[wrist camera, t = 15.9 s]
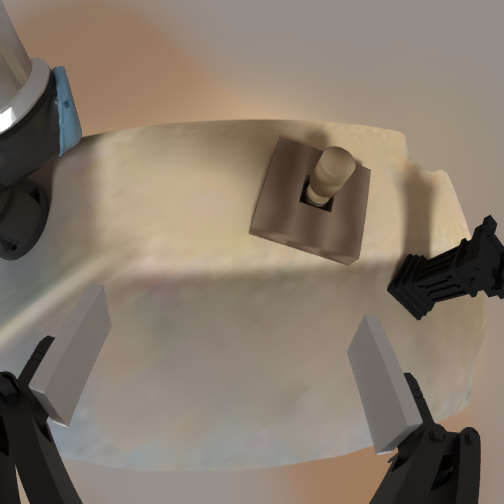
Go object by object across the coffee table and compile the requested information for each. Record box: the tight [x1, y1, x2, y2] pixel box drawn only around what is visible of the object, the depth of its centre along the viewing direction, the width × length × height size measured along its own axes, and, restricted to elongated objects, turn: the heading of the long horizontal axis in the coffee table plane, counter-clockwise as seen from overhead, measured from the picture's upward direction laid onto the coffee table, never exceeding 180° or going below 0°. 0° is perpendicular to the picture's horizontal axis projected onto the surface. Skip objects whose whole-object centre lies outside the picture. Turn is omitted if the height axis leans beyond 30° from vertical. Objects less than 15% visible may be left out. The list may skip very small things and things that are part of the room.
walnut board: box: [249, 137, 371, 265], centre depth 45 cm, size 16×16×4 cm
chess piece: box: [387, 215, 504, 320], centre depth 35 cm, size 8×8×20 cm
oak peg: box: [303, 146, 355, 209], centre depth 40 cm, size 4×4×13 cm
